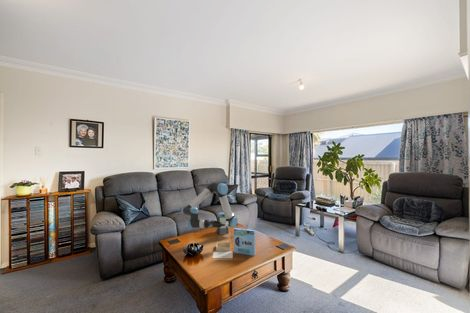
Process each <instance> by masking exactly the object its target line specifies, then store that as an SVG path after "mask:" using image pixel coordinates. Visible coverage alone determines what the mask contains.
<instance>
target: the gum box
mask: <svg viewBox="0 0 470 313" xmlns="http://www.w3.org/2000/svg"><path fill="white" fill-rule="evenodd" d="M233 254H240V255H245V256H253V257H254V256H255V254H256V230H255V229H254V228H244V227H236V226H235V227H233Z"/></svg>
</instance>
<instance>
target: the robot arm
mask: <svg viewBox="0 0 470 313" xmlns="http://www.w3.org/2000/svg"><path fill="white" fill-rule="evenodd" d="M228 191H229V188H228V185H227V184H225V183H224V182H216V181H215V182H211V183H209V184H208V185H207V186H206V187H204V188H203V190H202V191H201V192H200V193H199V194H198V195H197V196H196V197H195V198H194V199H193V200H192V201H191V202H190V203H188V204H187V206H186V205H185V206H183V207H181V208H180V209H181V210H180V212H181V214H183V215H185V216H188V217H189V219H188V221H187V227H188V228H189V229H208V228H216V230H215V232H216V235H223V236H224V234H220V227H221V226H226V234H225V235H227V234H230V229H229V227H230V228H231V227H232V228H235V227H236V226H237V224H238V222H239V219H238V217H237V216H235V214H234V212H233V211H232V208H231V205H230V202H229V198H228ZM212 194H215V195H216V197H217V198H219V199H218V200H219V201H220V205H221V207H222V210H223V211H222V212H218V213H217V220H213V219H212V220H210V221H209V219H199V208H198V206H199V205H200V204H201V203H202V202H203V201H204V200H206V198H207V197H208V196H210V195H212ZM220 216H226V223H222V224H220Z"/></svg>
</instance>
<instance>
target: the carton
mask: <svg viewBox="0 0 470 313" xmlns="http://www.w3.org/2000/svg"><path fill="white" fill-rule="evenodd" d="M215 247H216V248H215V252H231V241H217V242H216V246H215Z"/></svg>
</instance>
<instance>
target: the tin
mask: <svg viewBox="0 0 470 313" xmlns="http://www.w3.org/2000/svg"><path fill="white" fill-rule="evenodd" d="M222 223H226V216H220V224H222ZM221 234H223V235H227V234H226V226H221V227H220V234H219V235H221Z"/></svg>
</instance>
